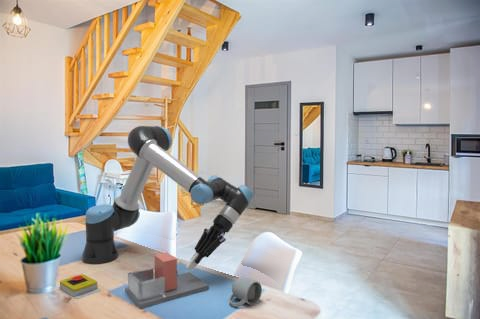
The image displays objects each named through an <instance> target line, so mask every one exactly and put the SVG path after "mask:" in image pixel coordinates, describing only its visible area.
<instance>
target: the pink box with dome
mask: <svg viewBox="0 0 480 319" xmlns="http://www.w3.org/2000/svg"><path fill="white" fill-rule="evenodd" d="M177 275H179V274H178V258H176V257H174V255H172V254H170V253H168V252H164V253H159V254H154V279H156V278H160V277H164V278H165V292H166V291H169V290H173V289H177Z"/></svg>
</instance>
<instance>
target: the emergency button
mask: <svg viewBox="0 0 480 319" xmlns="http://www.w3.org/2000/svg"><path fill="white" fill-rule="evenodd" d="M59 286H60V287H59V288H60V289H59V288H58V289H59V290H61V292H64V293H65V294H67V295H69V296H71V297H72V298H73V299H76V300H79V299H83V298H85V297H87V296H88V297H89V296H91V295H93V294H96V293H98V292H100V291H101V288H99V287H98V281H97V280H96V279H94V278H91V277H90V276H88V275H86V274H84V273H81V274H78V275H74V276H71V277H66V278H65V279H62V280H60V281H59Z"/></svg>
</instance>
